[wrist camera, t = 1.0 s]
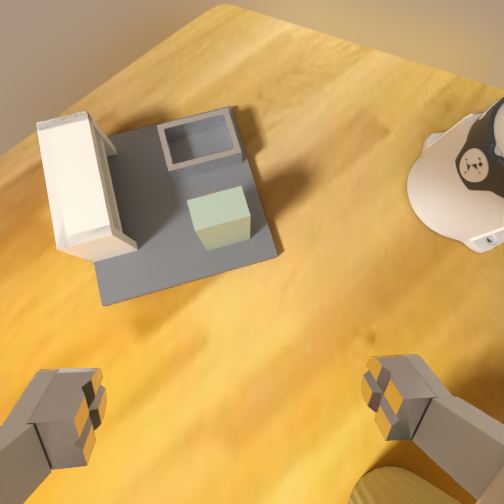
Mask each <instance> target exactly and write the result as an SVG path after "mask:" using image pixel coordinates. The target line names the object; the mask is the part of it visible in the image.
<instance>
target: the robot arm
mask: <svg viewBox="0 0 504 504" xmlns="http://www.w3.org/2000/svg"><path fill="white" fill-rule="evenodd" d="M407 191H408V197H409V200H410V203H411V205H412V208H413V209H414V211H415V213H416V214H417V216H418V217H419V218H420V219H421V221H422V222H423V223H424V224H426V225H427V226H428V227H429V228H431V229H432V230H434V231H435V232H437V233H439V234H441V235H443V236H446V237H449V238H453V239H456V240H459V241H461V242H463V243H464V244H465V245H466V246H468V247H469V248H470V249H472V250H474V251H475V252H478V253H484V252H486V251H488V250H490V249H492V248H494V247H496V246H498V245H499V244H501V243H503V242H504V98H502V99H501V100H499V101H497V102H496V103H494V104H493V105H492V106H491V107H489V108H488V109H487V110H486V111H485V112H484V113H480V114H475V115H474V114H470V115H468V116H466V117H465V118H463V119H462V120H461V121H459V122H458V123H457V124H456V125H454V126H453V127H452V128H451V129H449V130H448V131H447V132H439V133H433V134H431V135H430V136H428V137H427V138H426V140H425V142H424V146H423V151H422V154H421V156H420V157H419V158H418V160H417V161H416V162H415V163H414V165H413V166H412V168H411V170H410V173H409V176H408V181H407ZM487 238H488V239H489V242H488V241H487ZM367 367H368V368H369V371H368V372H366V373H365V374H364V375H363V378H362V382H361V386H362V394H363V397H364V400H365V402H366V404H367V406H368V407H369V408H371V409H372V410H373V411H374V412H376V414H375V421H376V423H377V425H378V427H379V429H380V431H381V433H382V435H383V437H384V439H385V441H390V440H410V439H413V440H412V441H413V442H414V443H415V444H416V445H417V446H418V447H419V448H420V449H421V450H422V451H424V452H425V453H426V454H427V455H428V456H429V457H430V458H431V459H432V460H433V461H434V462H435V463H437V464H438V465H439V466H440V467H441V468H442V469H443V470H444V471H445V472H446V473H447V474H449V475H450V476H451V477H452V478H453V479H454V480H455V481H456V482H457V483H458V484H459V485H461V486H462V487H463V488H464V489H465V490H466V491H467V492H468V493H469V494H470V495H471V496H472V497H474V498H475V499H476V500H477V502H476V504H504V424H502V423H501V422H499V421H497V420H496V419H494V418H492V417H491V416H489V415H487V414H486V413H484V412H483V411H481V410H479V409H478V408H476V407H474V406H473V405H471V404H469V403H468V402H466V401H465V400H463V399H461V398H460V397H453V395H452V394H451V393H450V392H449V391H448V389H447V388H446V387H445V386H444V385H443V383H442V382H441V381H440V380H439V378H438V377H437V376H436V375H435V374H434V372H433V371H432V370H431V369H430V367H429V366H428V365H427V364H426V363H425V361H424V360H423V359H422V358H421V357H420V356H419V355H417V354H407V355H386V356H372V357H370V358H369V360H368V363H367ZM102 378H103V375H102V371H101V369H100V368H70V369H41V370H40V371H38V372H37V373H36V374H35V375H34V377H33V378H32V380H31V381H30V383H29V385H28V386H27V388H26V389H25V391H24V392H23V394H22V395H21V397H20V399H19V400H18V402H17V403H16V405H15V406H14V408H13V409H12V411H11V413H10V414H9V416H8V417H7V419H6V420H5V422H4V423H3V425H2V426H0V504H23V503H24V502H25V501H26V500H27V499H28V497H29V496H30V495H31V494H32V493H33V492H34V491H35V490H36V489H37V487H38V486H39V485H40V484H41V483H42V482H43V481H44V480H45V479H46V477H47V476H48V475H49V474H50V473H51V470H54V469H63V468H72V467H81V466H87V465H88V462H89V459H90V456H91V453H92V450H93V447H94V444H95V441H96V438H95V433H94V430H95V429H97V428H98V427H99V426H100V425H101V424H102V420H103V417H104V414H105V408H106V390H105V388H104V387H103V386H102V385H100V384H101V381H102Z"/></svg>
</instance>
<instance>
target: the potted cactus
mask: <svg viewBox="0 0 504 504" xmlns="http://www.w3.org/2000/svg"><path fill="white" fill-rule="evenodd" d="M348 504H462V503H460V502H459V501H457V500H456V499H454V498H453V497H451V496H449V495H448V494H446V493H445V492H443V491H441V490H440V489H438V488H437V487H435V486H434V485H432V484H430V483H429V482H427V481H426V480H424V479H423V478H421V477H419V476H418V475H416V474H415V473H413V472H411V471H408V470H406V469H404V468H400V467H395V466H384V467H379V468H376V469H374V470H372V471H370V472H368V473H367V474H365V475H364V476H363V477H362V478H361V479H360V480H359V481H358V483H357V484H356V485H355V487H354V489H353V491H352V493H351V495H350V499H349V502H348Z"/></svg>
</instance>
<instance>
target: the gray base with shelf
mask: <svg viewBox="0 0 504 504" xmlns="http://www.w3.org/2000/svg"><path fill="white" fill-rule="evenodd" d="M224 108H228V110H229V114H230V117H231V120H232V123H233V126H234V130H235V133H236V136H237V139H238V142H239V146H240V149H241V152H242V163H241V164H237V165H233V166H230V167H226V168H222V169H218V170H214V171H211V172H207V173H203V174H199V175H195V176H192V177H188V178H184V179H180V180H176V181H173V179H172V177H171V175H170V173H169V172H168V168H167V164H166V160H165V156H164V152H163V148H162V144H161V141H160V137H159V133H158V129H157V125H160V124H164V123H168V122H172V121H176V120H180V119H184V118H188V117H192V116H196V115H200V114H204V113H208V112H212V111H216V110H220V109H224ZM224 108H220V109H216V110H212V111H208V112H204V113H200V114H196V115H192V116H187V117H183V118H179V119H175V120H171V121H167V122H163V123H159V124H155V125H151V126H147V127H143V128H139V129H135V130H131V131H127V132H123V133H119V134H115V135H111V136H106V135H105V133H104V132H103V131H102V130H101V128H100V127H99V126H98V125H97V123H96V122H95V121H94V120H93V118H92V117H91V116H90V114H89V113H88V112H87V111H83V112H79V113H75V114H71V115H66V116H62V117H58V118H54V119H50V120H46V121H42V122H38V123H36V125H37V132H38V138H39V144H40V150H41V156H42V162H43V168H44V174H45V180H46V186H47V192H48V198H49V204H50V210H51V216H52V222H53V228H54V234H55V240H56V246H57V250H60V251H63V252H65V253H68V254H71V255H74V256H77V257H80V258H83V259H86V260H89V261H92V262H94V265H95V270H96V276H97V281H98V286H99V292H100V297H101V302H102V306H109V305H112V304H116V303H119V302H123V301H126V300H130V299H133V298H137V297H140V296H144V295H147V294H151V293H154V292H158V291H161V290H165V289H168V288H172V287H175V286H179V285H182V284H186V283H189V282H193V281H196V280H200V279H203V278H207V277H210V276H213V275H217V274H220V273H224V272H227V271H231V270H234V269H238V268H241V267H245V266H248V265H252V264H255V263H259V262H262V261H266V260H269V259H273V258H276V257H278V254H277V251H276V248H275V245H274V241H273V238H272V235H271V232H270V229H269V226H268V222H267V219H266V216H265V213H264V210H263V206H262V203H261V200H260V197H259V194H258V191H257V187H256V184H255V181H254V178H253V175H252V172H251V168H250V165H249V162H248V159H247V156H246V152H245V149H244V146H243V143H242V140H241V137H240V133H239V130H238V127H237V124H236V121H235V118H234V114H233V111H232V108H231V106H228V107H224ZM169 142H170V146H171V150H172V154H173V158H174V161H175V164H177V163H181V162H184V161H188V160H192V159H196V158H200V157H204V156H208V155H212V154H215V153H219V152H223V151H227V150H231V149H232V148H231V144H230V141H229V138H228V134H227V131H226V128H225V127H224V128H220V129H216V130H212V131H208V132H204V133H200V134H196V135H192V136H188V137H184V138H180V139H176V140H172V141H169ZM239 186H242V189H243V193H244V196H245V199H246V203H247V206H248V209H249V212H250V216H251V218H250V239H249V240H246V241H242V242H238V243H235V244H231V245H228V246H224V247H221V248H217V249H213V250H210V251H207V249H206V248H205V246H204V245H203V243H202V242H201V240H200V238H199V237H198V235H197V234H196V232H195V230H194V226H193V222H192V218H191V215H190V211H189V207H188V203H187V200H190V199H194V198H197V197H201V196H205V195H209V193H211V192H213V191H224V190H227V189H231V188H235V187H239Z"/></svg>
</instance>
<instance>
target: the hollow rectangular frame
mask: <svg viewBox="0 0 504 504" xmlns="http://www.w3.org/2000/svg"><path fill="white" fill-rule="evenodd" d="M224 127H225V128H226V131H227V134H228V138H229V141H230V144H231V148H232V149H231V150H227V151H223V152H219V153H215V154H212V155H208V156H204V157H200V158H196V159H192V160H188V161H184V162H181V163H177V164H175V161H174V158H173V154H172V150H171V146H170V142H169V141H172V140H176V139H180V138H184V137H188V136H192V135H196V134H200V133H204V132H208V131H212V130H216V129H220V128H224ZM157 129H158V133H159V137H160V141H161V144H162V148H163V152H164V156H165V160H166V164H167V168H168V172H169V173H170V175H171V177H172V179H173V181H176V180H180V179H184V178H188V177H192V176H195V175H199V174H203V173H207V172H211V171H214V170H218V169H222V168H226V167H230V166H233V165H237V164H241V163H242V152H241V149H240V146H239V142H238V139H237V136H236V133H235V130H234V126H233V123H232V120H231V117H230V114H229V110H228V108H224V109H220V110H216V111H212V112H208V113H204V114H200V115H196V116H192V117H188V118H184V119H180V120H176V121H172V122H168V123H164V124H160V125H157Z"/></svg>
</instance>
